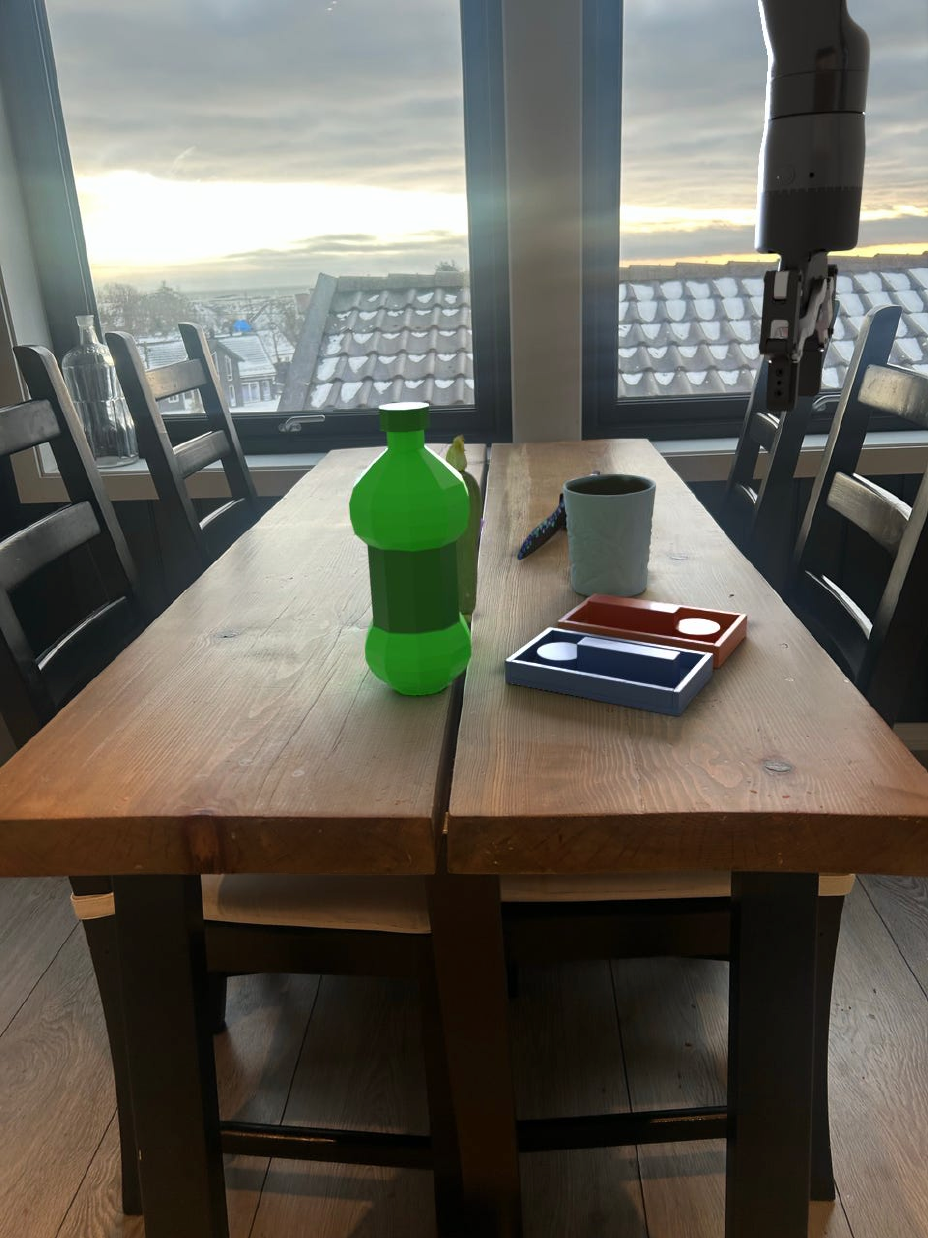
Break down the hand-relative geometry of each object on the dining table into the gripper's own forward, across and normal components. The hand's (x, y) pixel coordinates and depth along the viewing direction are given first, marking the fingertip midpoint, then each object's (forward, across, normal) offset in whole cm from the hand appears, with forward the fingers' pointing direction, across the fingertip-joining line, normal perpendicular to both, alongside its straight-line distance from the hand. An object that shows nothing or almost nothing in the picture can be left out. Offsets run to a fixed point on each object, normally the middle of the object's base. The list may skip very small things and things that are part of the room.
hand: (794, 402), depth 81 cm
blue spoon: (+24, -7, +13) cm, 28 cm away
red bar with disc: (+24, +4, +13) cm, 27 cm away
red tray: (+24, +4, +13) cm, 28 cm away
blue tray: (+24, -7, +13) cm, 28 cm away
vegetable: (+24, 0, +32) cm, 40 cm away
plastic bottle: (+24, -15, +28) cm, 40 cm away
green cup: (+24, +17, +23) cm, 38 cm away
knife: (+24, +36, +38) cm, 58 cm away
